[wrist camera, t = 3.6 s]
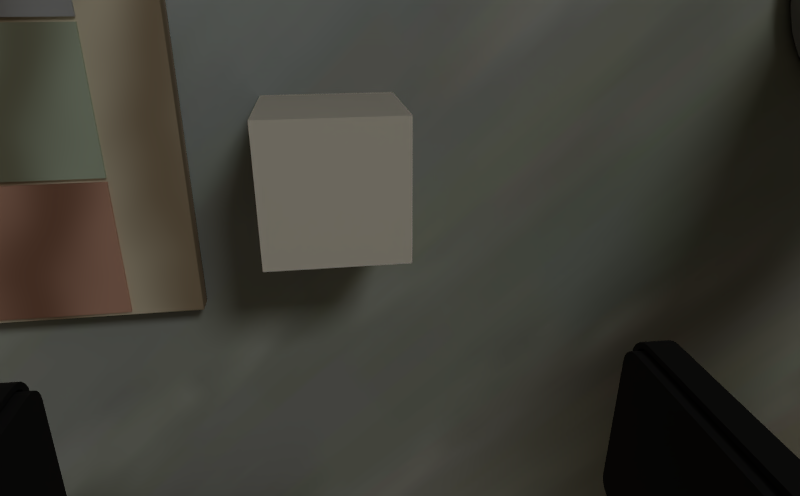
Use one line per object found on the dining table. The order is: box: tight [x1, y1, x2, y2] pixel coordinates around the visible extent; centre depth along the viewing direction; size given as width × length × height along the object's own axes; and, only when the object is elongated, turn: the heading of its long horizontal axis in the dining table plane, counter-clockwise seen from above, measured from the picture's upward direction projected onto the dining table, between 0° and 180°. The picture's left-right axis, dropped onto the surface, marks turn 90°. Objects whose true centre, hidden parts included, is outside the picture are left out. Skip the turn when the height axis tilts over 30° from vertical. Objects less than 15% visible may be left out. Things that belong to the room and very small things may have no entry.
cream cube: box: [248, 92, 413, 272], centre depth 26 cm, size 6×6×6 cm
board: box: [0, 0, 207, 323], centre depth 26 cm, size 13×20×1 cm, turn 0°
